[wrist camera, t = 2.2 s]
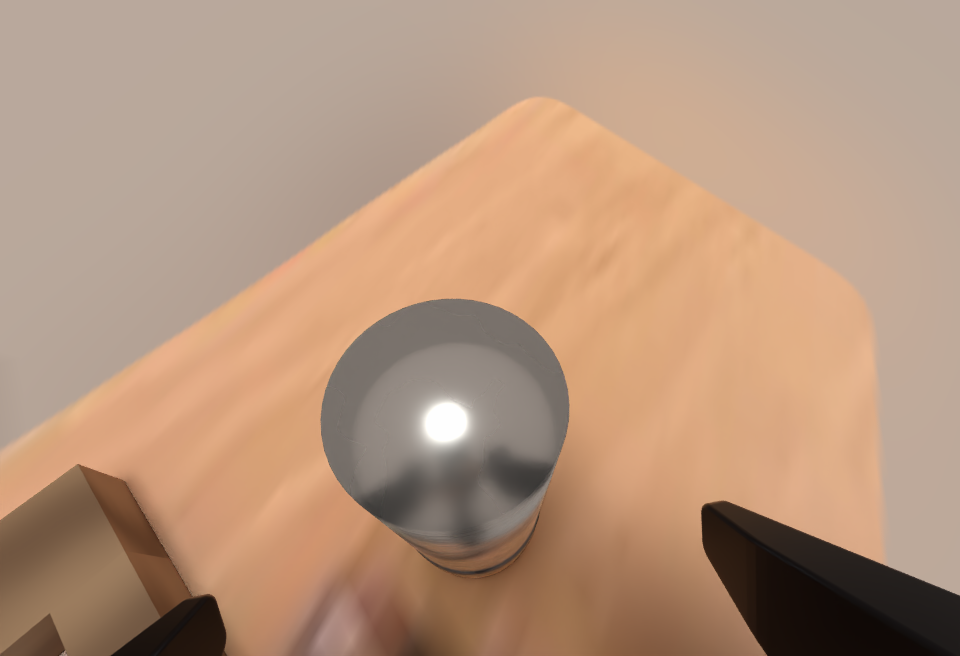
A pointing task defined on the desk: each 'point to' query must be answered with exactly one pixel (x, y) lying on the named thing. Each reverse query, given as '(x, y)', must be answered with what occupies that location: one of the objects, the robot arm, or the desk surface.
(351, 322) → the desk surface
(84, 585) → the brown picture frame
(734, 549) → the robot arm
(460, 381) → the chrome banded cylinder
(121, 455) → the desk surface
